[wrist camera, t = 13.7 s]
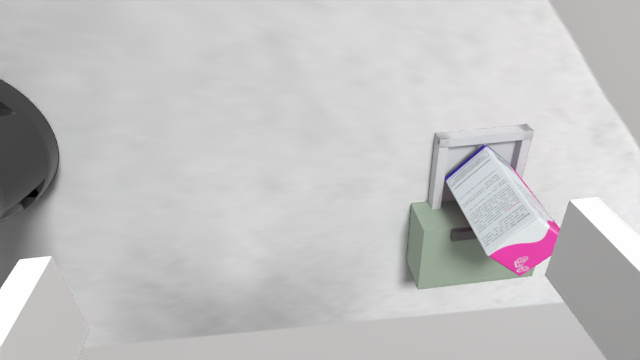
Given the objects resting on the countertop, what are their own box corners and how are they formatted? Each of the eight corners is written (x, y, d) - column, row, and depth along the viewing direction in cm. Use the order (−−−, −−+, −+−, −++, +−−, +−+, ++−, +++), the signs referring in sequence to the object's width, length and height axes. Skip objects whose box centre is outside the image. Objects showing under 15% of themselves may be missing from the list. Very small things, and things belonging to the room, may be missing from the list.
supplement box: (441, 179, 49) (485, 255, 40) (484, 141, 46) (541, 214, 37) (473, 202, 51) (521, 279, 42) (514, 168, 49) (575, 241, 40)
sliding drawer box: (406, 260, 57) (419, 293, 52) (416, 134, 47) (434, 162, 42) (512, 247, 58) (534, 279, 53) (544, 122, 48) (575, 147, 43)
